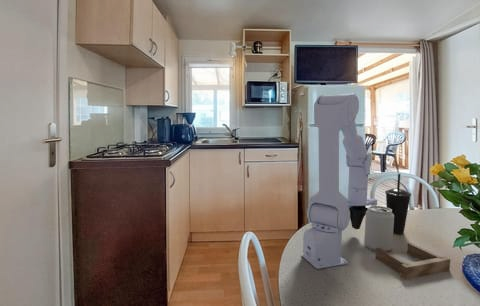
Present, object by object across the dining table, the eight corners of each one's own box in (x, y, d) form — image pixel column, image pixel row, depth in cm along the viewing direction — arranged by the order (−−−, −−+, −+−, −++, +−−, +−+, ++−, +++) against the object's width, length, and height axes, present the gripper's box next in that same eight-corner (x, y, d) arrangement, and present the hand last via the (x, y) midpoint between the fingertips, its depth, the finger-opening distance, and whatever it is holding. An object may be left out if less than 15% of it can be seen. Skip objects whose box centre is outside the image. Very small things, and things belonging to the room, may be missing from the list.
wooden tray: (405, 279, 66) (406, 267, 66) (372, 259, 76) (373, 248, 76) (449, 270, 70) (450, 259, 70) (412, 252, 80) (413, 242, 80)
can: (397, 253, 79) (400, 212, 78) (370, 253, 80) (372, 211, 78) (384, 242, 87) (386, 204, 86) (359, 242, 87) (361, 204, 86)
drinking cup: (412, 237, 91) (416, 176, 89) (386, 235, 92) (390, 175, 90) (403, 228, 98) (407, 172, 96) (380, 227, 100) (383, 171, 98)
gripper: (367, 183, 97) (365, 221, 98) (331, 186, 92) (329, 226, 94) (383, 188, 90) (380, 229, 91) (345, 191, 86) (343, 234, 87)
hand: (355, 228), depth 92 cm, fingers closed
